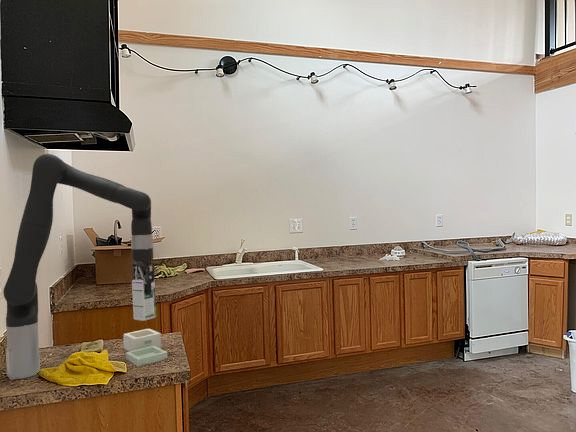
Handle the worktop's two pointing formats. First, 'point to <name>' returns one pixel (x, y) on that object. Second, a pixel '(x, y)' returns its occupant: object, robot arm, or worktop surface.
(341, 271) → the worktop surface
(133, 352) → the tray
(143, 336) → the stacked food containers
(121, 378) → the worktop surface
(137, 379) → the worktop surface
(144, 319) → the syrup box
